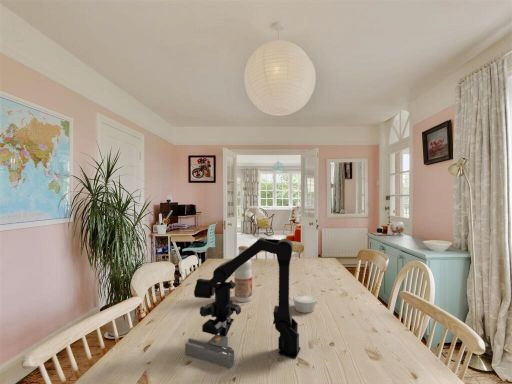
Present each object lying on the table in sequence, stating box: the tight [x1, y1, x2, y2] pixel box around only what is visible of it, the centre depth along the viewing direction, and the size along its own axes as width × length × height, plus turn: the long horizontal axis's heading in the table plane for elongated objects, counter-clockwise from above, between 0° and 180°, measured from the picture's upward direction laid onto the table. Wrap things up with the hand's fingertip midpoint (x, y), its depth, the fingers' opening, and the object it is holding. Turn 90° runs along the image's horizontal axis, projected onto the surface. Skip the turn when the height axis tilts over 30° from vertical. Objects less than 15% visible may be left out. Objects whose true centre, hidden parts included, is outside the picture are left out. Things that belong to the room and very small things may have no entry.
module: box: [207, 334, 229, 348], centre depth 94 cm, size 5×7×5 cm
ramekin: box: [292, 294, 317, 314], centre depth 129 cm, size 11×11×5 cm
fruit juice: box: [234, 245, 253, 303], centre depth 142 cm, size 9×9×28 cm
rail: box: [184, 337, 235, 369], centre depth 92 cm, size 18×6×5 cm, turn 67°
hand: (223, 340), depth 99 cm, fingers closed
